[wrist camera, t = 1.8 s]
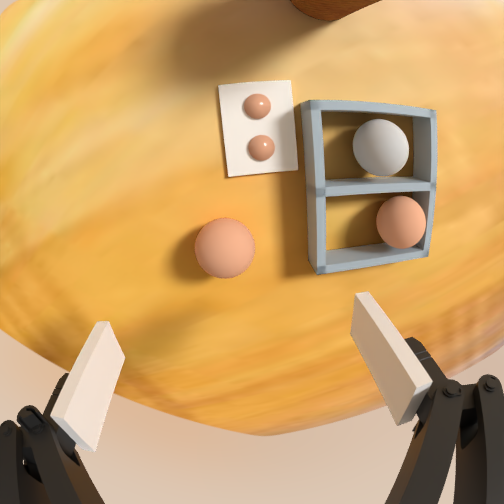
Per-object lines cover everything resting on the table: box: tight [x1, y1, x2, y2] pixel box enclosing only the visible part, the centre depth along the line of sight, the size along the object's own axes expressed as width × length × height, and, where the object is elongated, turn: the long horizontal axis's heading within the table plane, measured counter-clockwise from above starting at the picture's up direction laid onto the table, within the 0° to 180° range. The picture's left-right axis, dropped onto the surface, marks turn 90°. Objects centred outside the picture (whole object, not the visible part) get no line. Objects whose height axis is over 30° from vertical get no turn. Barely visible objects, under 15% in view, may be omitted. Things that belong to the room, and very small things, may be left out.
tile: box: [218, 80, 298, 177], centre depth 22 cm, size 6×8×1 cm
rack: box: [300, 100, 437, 275], centre depth 24 cm, size 13×15×3 cm
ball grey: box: [353, 119, 409, 176], centre depth 21 cm, size 5×5×5 cm
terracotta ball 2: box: [376, 196, 426, 249], centre depth 24 cm, size 5×5×5 cm
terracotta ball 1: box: [195, 218, 255, 278], centre depth 24 cm, size 5×5×5 cm
